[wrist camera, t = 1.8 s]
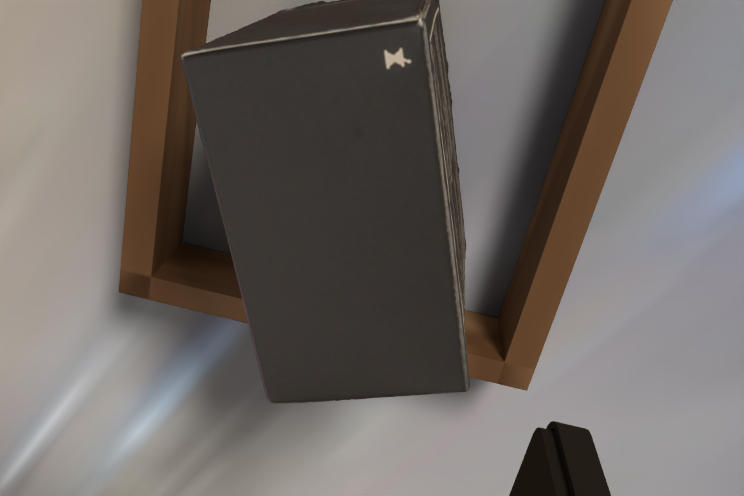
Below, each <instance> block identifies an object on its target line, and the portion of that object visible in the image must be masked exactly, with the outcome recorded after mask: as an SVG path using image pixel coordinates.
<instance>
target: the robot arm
mask: <svg viewBox="0 0 744 496" xmlns="http://www.w3.org/2000/svg"><path fill="white" fill-rule="evenodd" d="M509 496H611V494H610V491H609V488H608V485H607V482H606V479H605V476H604V473H603V470H602V467H601V464H600V461H599V458H598V454H597V451H596V448H595V445H594V442H593V439H592V436H591V434H590V432H589V430H587V429H585V428H580V427H576V426H572V425H567V424H563V423H559V422H554V421H553V422H550V424H549V425H548V426H547V428H546V429H544V428H537V429H536V430H535V431H534V433H533V436H532V438H531V441H530V443H529V446H528V449H527V451H526V454H525V456H524V459H523V461H522V464H521V467H520V469H519V472H518V474H517V477H516V480H515V482H514V485H513V487H512V490H511V492H510V495H509Z"/></svg>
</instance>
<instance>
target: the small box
mask: <svg viewBox="0 0 744 496" xmlns="http://www.w3.org/2000/svg"><path fill="white" fill-rule="evenodd" d="M181 62H182V66H183V70H184V73H185V77H186V81H187V85H188V89H189V93H190V98H191V101H192V105H193V109H194V113H195V117H196V120H197V124H198V128H199V132H200V136H201V139H202V143H203V147H204V151H205V155H206V159H207V163H208V166H209V170H210V174H211V178H212V182H213V186H214V190H215V194H216V197H217V201H218V205H219V209H220V213H221V217H222V221H223V225H224V229H225V232H226V236H227V240H228V244H229V248H230V252H231V255H232V259H233V264H234V268H235V272H236V276H237V280H238V284H239V288H240V292H241V296H242V300H243V304H244V308H245V312H246V316H247V320H248V324H249V328H250V332H251V336H252V340H253V344H254V348H255V352H256V357H257V361H258V365H259V369H260V372H261V376H262V381H263V385H264V389H265V393H266V397H267V400H268V401H269V402H271V403H304V402H323V401H332V400H336V401H338V400H350V399H367V398H378V397H395V396H411V395H426V394H438V393H453V392H466V391H468V389H469V387H470V380H469V372H468V362H467V351H466V338H465V337H466V336H465V282H464V280H465V252H466V240H465V232H464V220H463V211H462V201H461V193H460V183H459V168H458V163H457V155H456V145H455V137H454V127H453V118H452V99H451V92H450V85H449V80H448V62H447V59H446V52H445V43H444V38H443V29H442V22H441V15H440V6H439V0H339V1H332V2H329V3H327V2H324V1H319V2H317V3H310V4H305V5H302V6H299V7H295V8H292V9H287V10H281V11H279V12H277V13H276V14H273V15H271V16H268V17H267V18H264V19H262V20H259V21H258V22H255V23H252V24H250V25H248V26H246V27H243V28H241V29H239V30H237V31H234V32H232V33H230V34H227V35H225V36H223V37H220V38H217V39H215V40H213V41H211V42H209V43H207V44H204V45H202V46H200V47H198V48H195V49H189V50H187V51H186V52H185V53H184V54H182V55H181Z"/></svg>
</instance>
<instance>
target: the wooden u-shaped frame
mask: <svg viewBox="0 0 744 496" xmlns="http://www.w3.org/2000/svg"><path fill="white" fill-rule="evenodd" d="M672 1H673V0H605V3H604V6H603V9H602V12H601V15H600V18H599V21H598V24H597V27H596V30H595V33H594V36H593V38H592V41H591V44H590V47H589V50H588V53H587V56H586V59H585V62H584V65H583V68H582V71H581V74H580V77H579V80H578V83H577V86H576V89H575V92H574V95H573V98H572V101H571V104H570V107H569V110H568V113H567V116H566V119H565V122H564V125H563V128H562V131H561V134H560V137H559V140H558V143H557V146H556V148H555V151H554V154H553V157H552V160H551V163H550V166H549V169H548V172H547V175H546V178H545V181H544V184H543V187H542V190H541V193H540V196H539V199H538V202H537V205H536V208H535V211H534V214H533V217H532V220H531V223H530V226H529V229H528V232H527V235H526V238H525V241H524V244H523V247H522V250H521V253H520V256H519V258H518V261H517V264H516V267H515V270H514V273H513V276H512V279H511V282H510V285H509V288H508V291H507V294H506V297H505V300H504V303H503V306H502V309H501V312H500V315H499V318H494V317H490V316H486V315H482V314H478V313H473V312H469V311H465V336H466V337H465V338H466V351H467V362H468V372H469V377H472V378H476V379H481V380H485V381H489V382H493V383H497V384H501V385H505V386H510V387H514V388H518V389H522V390H526V391H527V389H528V387H529V384H530V381H531V378H532V376H533V373H534V370H535V368H536V365H537V362H538V360H539V357H540V354H541V352H542V349H543V346H544V344H545V341H546V338H547V336H548V333H549V330H550V328H551V325H552V322H553V320H554V317H555V314H556V312H557V309H558V306H559V304H560V301H561V298H562V295H563V293H564V290H565V287H566V285H567V282H568V279H569V277H570V274H571V271H572V269H573V266H574V263H575V261H576V258H577V255H578V253H579V250H580V247H581V245H582V242H583V239H584V237H585V234H586V231H587V229H588V226H589V223H590V221H591V218H592V215H593V212H594V210H595V207H596V204H597V202H598V199H599V196H600V194H601V191H602V188H603V186H604V183H605V180H606V178H607V175H608V172H609V170H610V167H611V164H612V162H613V159H614V156H615V154H616V151H617V148H618V146H619V143H620V140H621V137H622V135H623V132H624V129H625V127H626V124H627V121H628V119H629V116H630V113H631V111H632V108H633V105H634V103H635V100H636V97H637V95H638V92H639V89H640V87H641V84H642V81H643V79H644V76H645V73H646V71H647V68H648V65H649V63H650V60H651V57H652V54H653V52H654V49H655V46H656V44H657V41H658V38H659V36H660V33H661V30H662V28H663V25H664V22H665V20H666V17H667V14H668V12H669V9H670V6H671V4H672ZM210 2H211V0H143V2H142V14H141V27H140V39H139V51H138V63H137V76H136V88H135V100H134V112H133V125H132V137H131V149H130V161H129V174H128V186H127V198H126V210H125V223H124V235H123V247H122V260H121V272H120V284H119V292H120V293H124V294H128V295H132V296H137V297H141V298H145V299H149V300H153V301H157V302H161V303H166V304H170V305H174V306H178V307H182V308H186V309H190V310H195V311H199V312H203V313H207V314H211V315H215V316H219V317H224V318H228V319H232V320H236V321H240V322H244V323H248V320H247V316H246V312H245V308H244V304H243V300H242V296H241V292H240V288H239V284H238V280H237V276H236V272H235V268H234V264H233V259H232V255H231V254H229V253H225V252H221V251H216V250H212V249H208V248H204V247H200V246H196V245H192V244H187V243H183V242H182V237H183V229H184V220H185V212H186V203H187V195H188V187H189V178H190V170H191V161H192V153H193V145H194V136H195V128H196V117H195V113H194V109H193V105H192V101H191V98H190V93H189V89H188V85H187V81H186V77H185V73H184V70H183V66H182V62H181V55H182V54H184V53H185V52H186V51H187V50H189V49H195V48H198V47H200V46H202V45H204V44H206V35H207V27H208V19H209V10H210Z"/></svg>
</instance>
